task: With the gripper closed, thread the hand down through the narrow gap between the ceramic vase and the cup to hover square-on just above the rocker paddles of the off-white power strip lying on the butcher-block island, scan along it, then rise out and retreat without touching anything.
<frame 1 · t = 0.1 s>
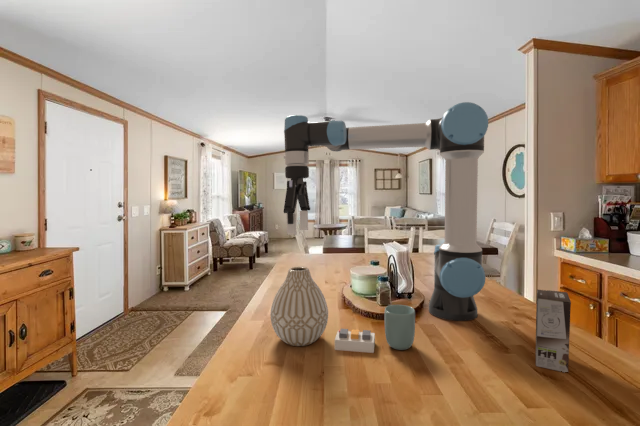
hand: (298, 232, 112), 28 cm above the counter, fingers open, 13 cm apart
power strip: (355, 347, 92), on the counter
cup: (399, 347, 91), on the counter
vase: (300, 340, 96), on the counter
coffee box: (551, 362, 82), on the counter
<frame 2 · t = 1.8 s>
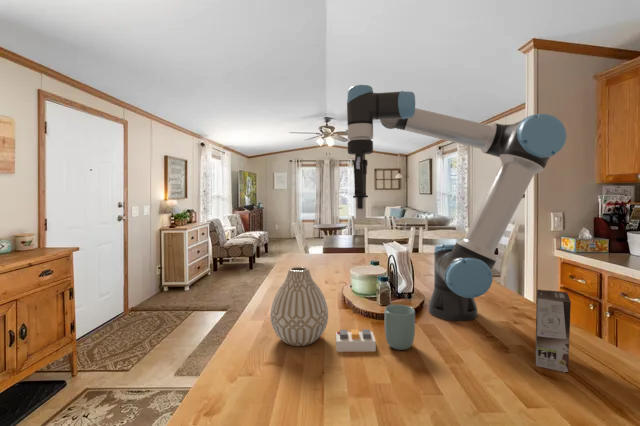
hand: (360, 219, 104), 32 cm above the counter, fingers closed
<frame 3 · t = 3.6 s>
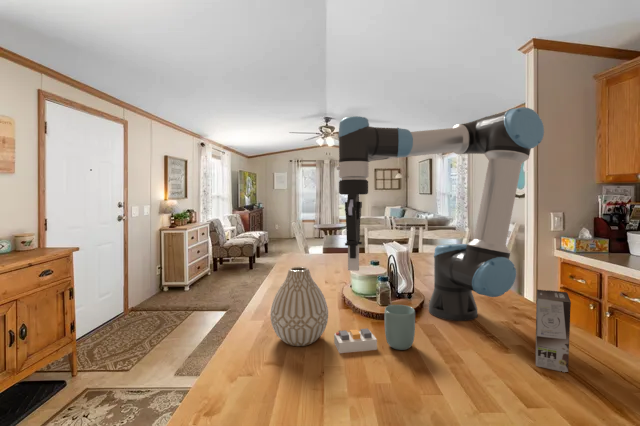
hand: (353, 269, 90), 20 cm above the counter, fingers closed
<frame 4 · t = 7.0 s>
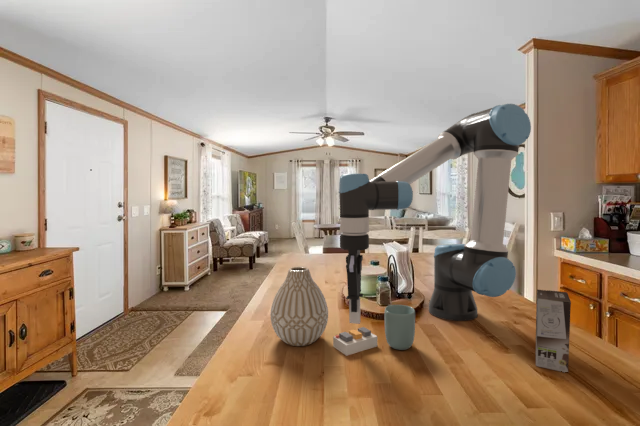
hand: (354, 322, 91), 6 cm above the counter, fingers closed
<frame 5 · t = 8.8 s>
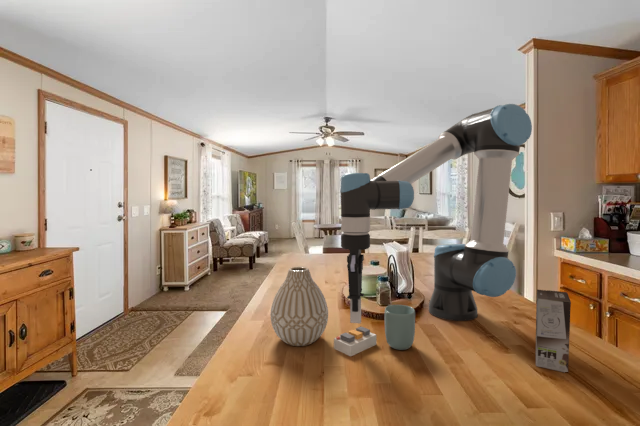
hand: (355, 322, 91), 7 cm above the counter, fingers closed
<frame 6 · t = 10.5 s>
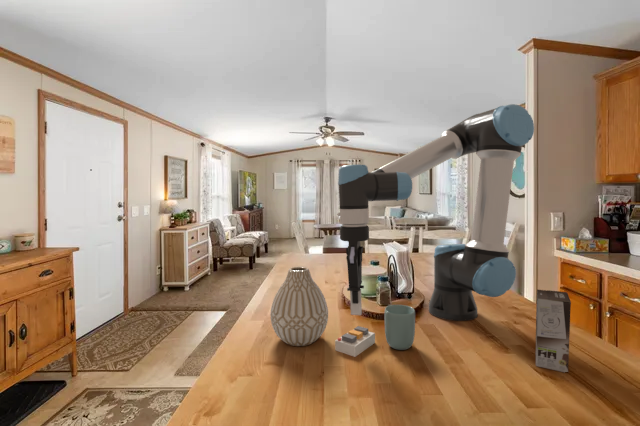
hand: (356, 313, 91), 9 cm above the counter, fingers closed
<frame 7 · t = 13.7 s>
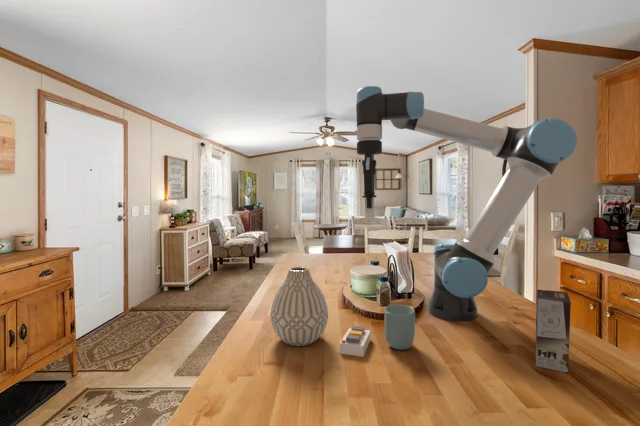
hand: (369, 218, 106), 32 cm above the counter, fingers closed
at the end: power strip moved 0.5 cm from its start; vase moved 0.2 cm from its start; cup moved 0.2 cm from its start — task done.
